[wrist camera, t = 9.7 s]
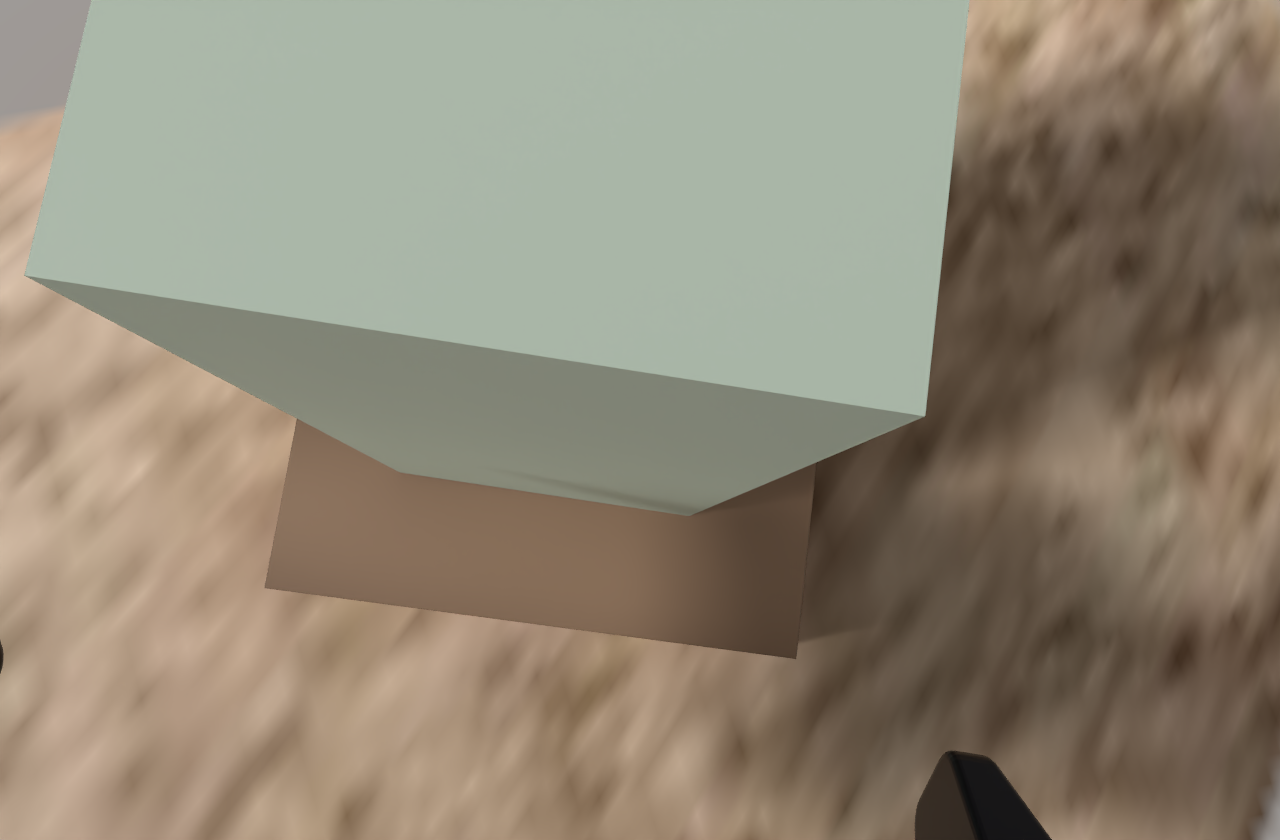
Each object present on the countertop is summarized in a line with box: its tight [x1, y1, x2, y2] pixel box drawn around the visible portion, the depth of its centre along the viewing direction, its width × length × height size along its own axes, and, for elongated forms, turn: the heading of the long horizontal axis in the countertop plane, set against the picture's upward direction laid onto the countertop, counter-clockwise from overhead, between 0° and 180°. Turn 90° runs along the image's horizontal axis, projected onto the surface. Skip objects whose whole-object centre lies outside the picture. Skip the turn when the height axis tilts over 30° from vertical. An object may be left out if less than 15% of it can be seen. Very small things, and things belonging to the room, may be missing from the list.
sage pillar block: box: [25, 0, 969, 516], centre depth 12 cm, size 5×5×12 cm
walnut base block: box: [265, 419, 817, 659], centre depth 19 cm, size 9×9×3 cm
